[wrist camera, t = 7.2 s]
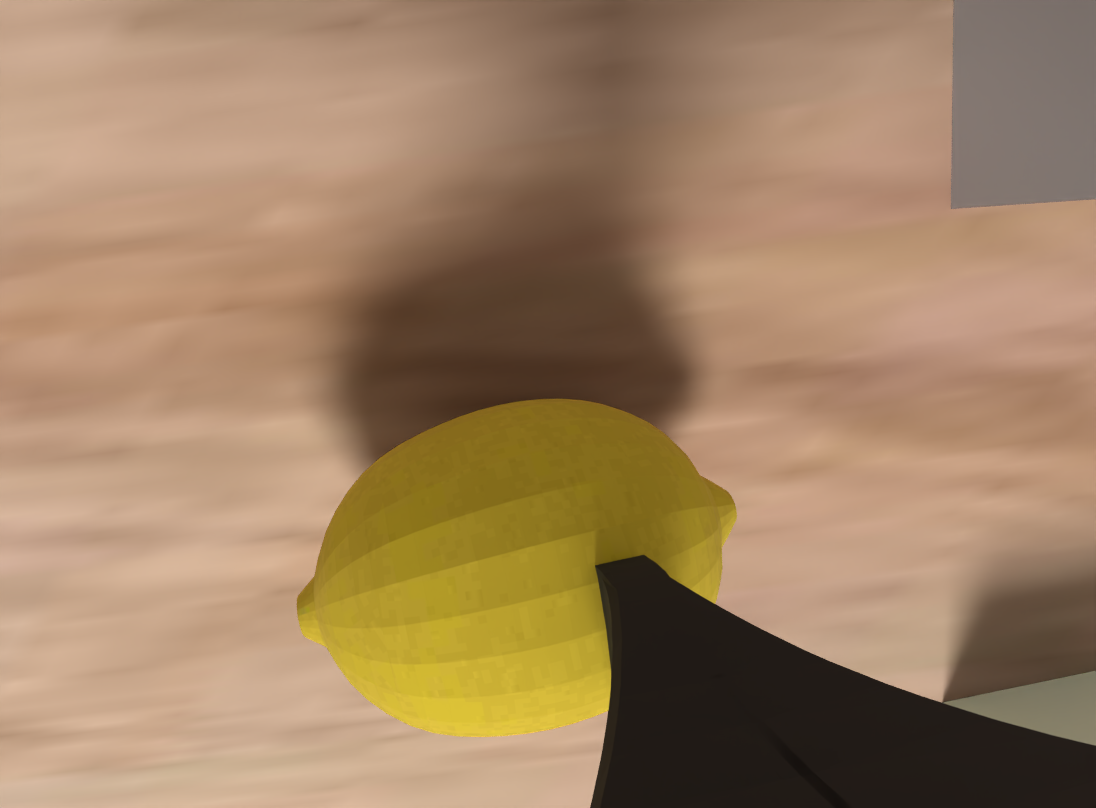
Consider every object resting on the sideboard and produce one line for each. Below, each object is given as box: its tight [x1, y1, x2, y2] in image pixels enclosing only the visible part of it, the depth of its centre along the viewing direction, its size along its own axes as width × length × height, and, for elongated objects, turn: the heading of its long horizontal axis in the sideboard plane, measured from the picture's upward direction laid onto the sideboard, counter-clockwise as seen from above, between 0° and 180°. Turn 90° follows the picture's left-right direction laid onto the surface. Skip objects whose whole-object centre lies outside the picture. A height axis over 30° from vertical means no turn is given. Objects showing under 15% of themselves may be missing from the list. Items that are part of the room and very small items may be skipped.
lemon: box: [297, 399, 737, 737], centre depth 12 cm, size 6×6×8 cm
